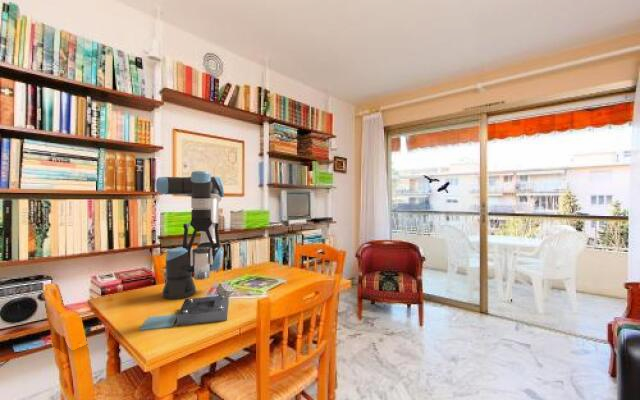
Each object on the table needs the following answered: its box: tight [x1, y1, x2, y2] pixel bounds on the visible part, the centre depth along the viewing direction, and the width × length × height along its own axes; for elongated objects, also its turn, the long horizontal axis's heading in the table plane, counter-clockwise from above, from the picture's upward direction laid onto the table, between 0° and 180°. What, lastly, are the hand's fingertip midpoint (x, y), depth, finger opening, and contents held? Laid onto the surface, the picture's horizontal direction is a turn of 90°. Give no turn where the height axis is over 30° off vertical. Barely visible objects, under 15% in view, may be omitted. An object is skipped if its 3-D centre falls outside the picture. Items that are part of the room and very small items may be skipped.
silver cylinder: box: [192, 247, 211, 281], centre depth 120 cm, size 7×7×12 cm
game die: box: [215, 280, 235, 297], centre depth 139 cm, size 9×8×10 cm
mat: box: [139, 313, 178, 331], centre depth 113 cm, size 11×11×1 cm
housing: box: [176, 295, 230, 327], centre depth 121 cm, size 18×18×5 cm
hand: (201, 264), depth 120 cm, fingers closed on silver cylinder, 7 cm apart
